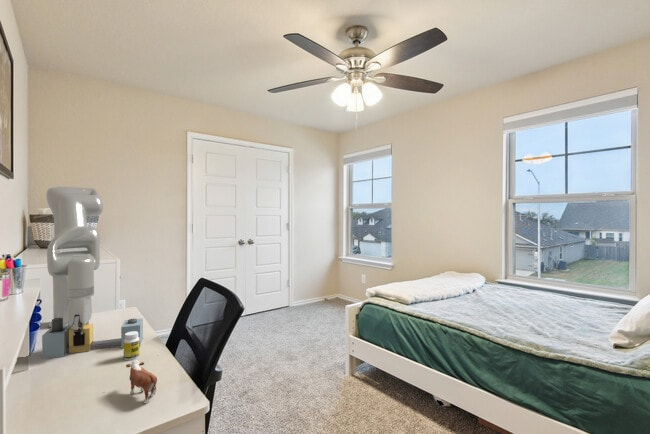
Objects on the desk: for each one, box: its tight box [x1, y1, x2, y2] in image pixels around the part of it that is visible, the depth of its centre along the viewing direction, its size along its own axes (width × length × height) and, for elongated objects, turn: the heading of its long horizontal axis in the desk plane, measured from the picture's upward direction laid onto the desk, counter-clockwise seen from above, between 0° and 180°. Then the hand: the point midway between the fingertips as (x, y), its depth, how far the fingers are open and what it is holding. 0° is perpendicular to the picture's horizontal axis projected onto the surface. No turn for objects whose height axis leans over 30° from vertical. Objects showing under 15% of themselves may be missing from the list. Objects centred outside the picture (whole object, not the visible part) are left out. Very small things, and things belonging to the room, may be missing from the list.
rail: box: [66, 337, 121, 354], centre depth 121 cm, size 3×17×2 cm, turn 112°
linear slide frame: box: [41, 318, 144, 360], centre depth 121 cm, size 8×29×9 cm, turn 112°
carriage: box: [68, 323, 94, 354], centre depth 120 cm, size 5×6×8 cm
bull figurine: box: [125, 359, 158, 404], centre depth 92 cm, size 4×13×8 cm, turn 51°
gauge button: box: [51, 318, 63, 332], centre depth 117 cm, size 3×3×4 cm
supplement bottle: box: [123, 331, 140, 361], centre depth 114 cm, size 5×5×8 cm
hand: (81, 341), depth 120 cm, fingers closed on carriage, 5 cm apart
